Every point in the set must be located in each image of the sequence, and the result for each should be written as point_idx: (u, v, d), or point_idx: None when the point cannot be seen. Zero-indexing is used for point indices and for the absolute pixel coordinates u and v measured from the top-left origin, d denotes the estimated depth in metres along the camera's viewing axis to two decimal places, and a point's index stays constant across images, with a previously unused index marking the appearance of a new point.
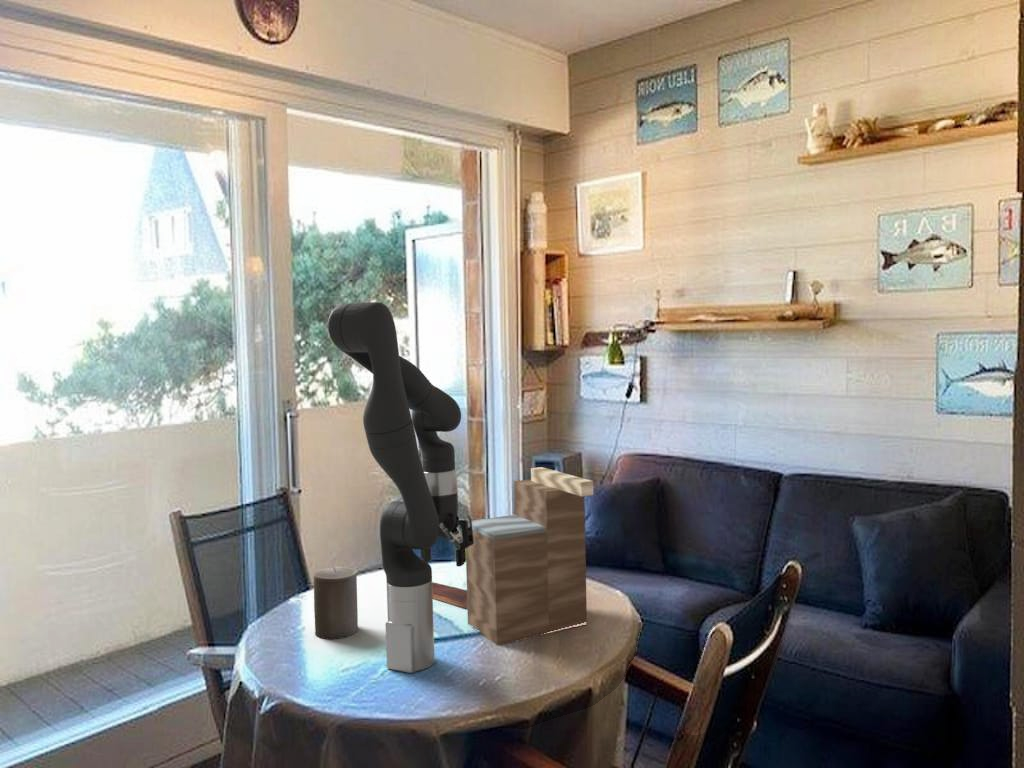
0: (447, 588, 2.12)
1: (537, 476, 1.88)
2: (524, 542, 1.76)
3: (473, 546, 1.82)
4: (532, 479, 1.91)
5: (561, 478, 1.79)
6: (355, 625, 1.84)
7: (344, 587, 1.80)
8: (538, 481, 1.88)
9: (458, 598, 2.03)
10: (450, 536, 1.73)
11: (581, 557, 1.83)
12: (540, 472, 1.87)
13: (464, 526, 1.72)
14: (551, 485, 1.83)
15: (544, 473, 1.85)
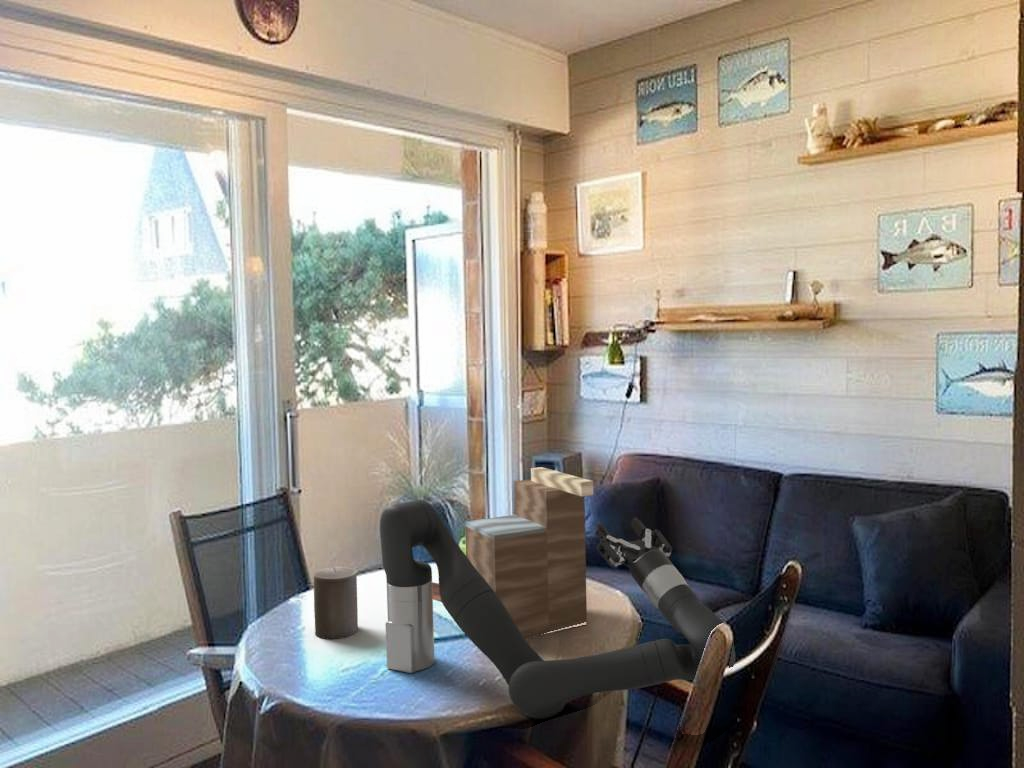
0: None
1: (537, 476, 1.88)
2: (524, 542, 1.76)
3: (473, 546, 1.82)
4: (532, 479, 1.91)
5: (561, 478, 1.79)
6: (355, 625, 1.84)
7: (344, 587, 1.80)
8: (538, 481, 1.88)
9: None
10: None
11: (581, 557, 1.83)
12: (540, 472, 1.87)
13: None
14: (551, 485, 1.83)
15: (544, 473, 1.85)
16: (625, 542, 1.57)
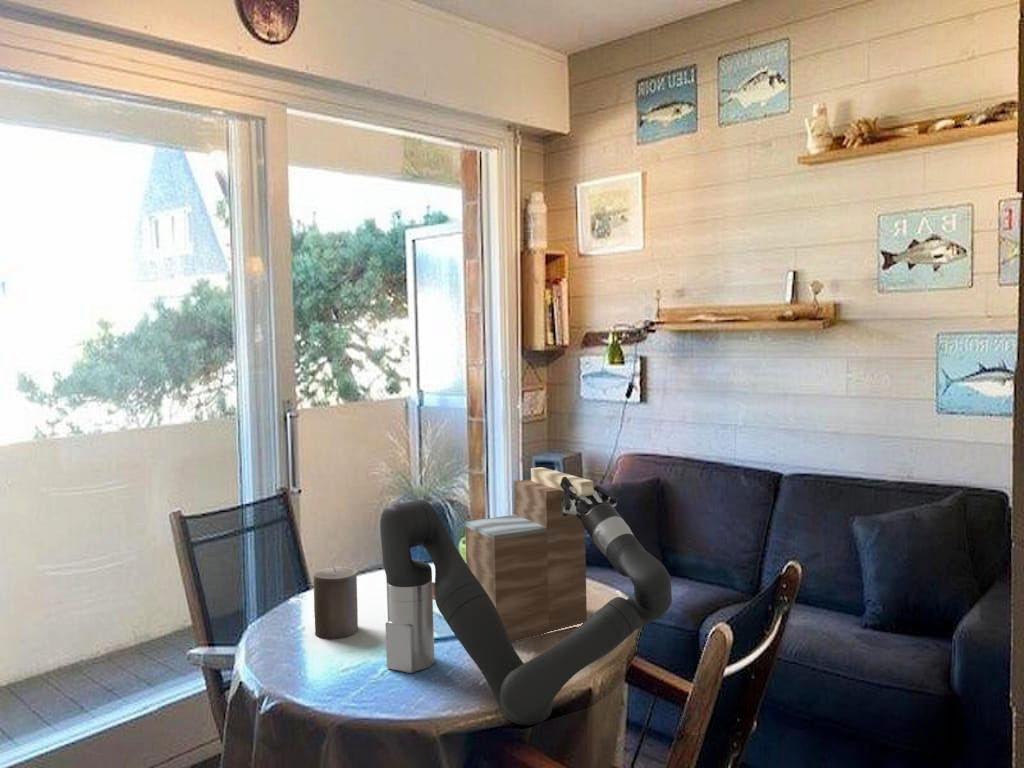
0: None
1: (537, 476, 1.88)
2: (524, 542, 1.76)
3: (473, 546, 1.82)
4: (532, 479, 1.91)
5: (561, 478, 1.79)
6: (355, 625, 1.84)
7: (344, 587, 1.80)
8: (538, 481, 1.88)
9: None
10: None
11: (581, 557, 1.83)
12: (540, 472, 1.87)
13: None
14: (551, 485, 1.83)
15: (544, 473, 1.85)
16: (582, 495, 1.71)
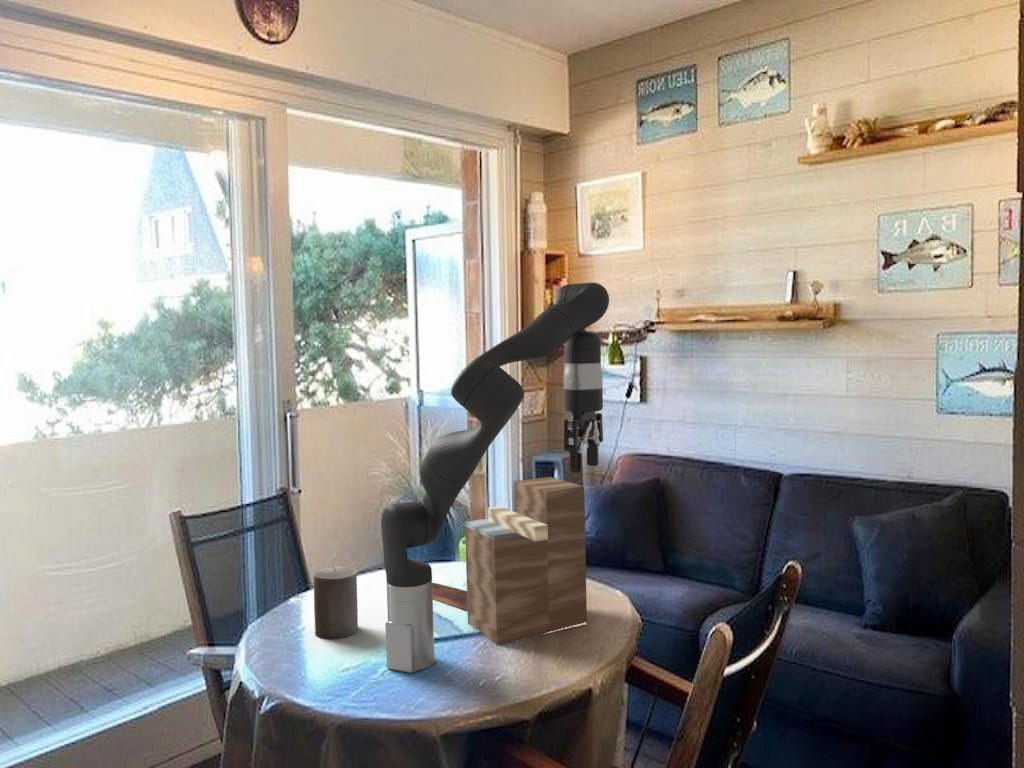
0: (449, 588, 2.12)
1: (494, 516, 1.83)
2: (524, 542, 1.76)
3: (473, 546, 1.82)
4: (489, 519, 1.86)
5: (516, 521, 1.74)
6: (355, 625, 1.84)
7: (344, 587, 1.80)
8: (495, 521, 1.83)
9: (458, 599, 2.02)
10: (598, 433, 1.60)
11: (581, 557, 1.83)
12: (497, 512, 1.82)
13: (601, 419, 1.63)
14: (507, 527, 1.78)
15: (500, 514, 1.80)
16: None
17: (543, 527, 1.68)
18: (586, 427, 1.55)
